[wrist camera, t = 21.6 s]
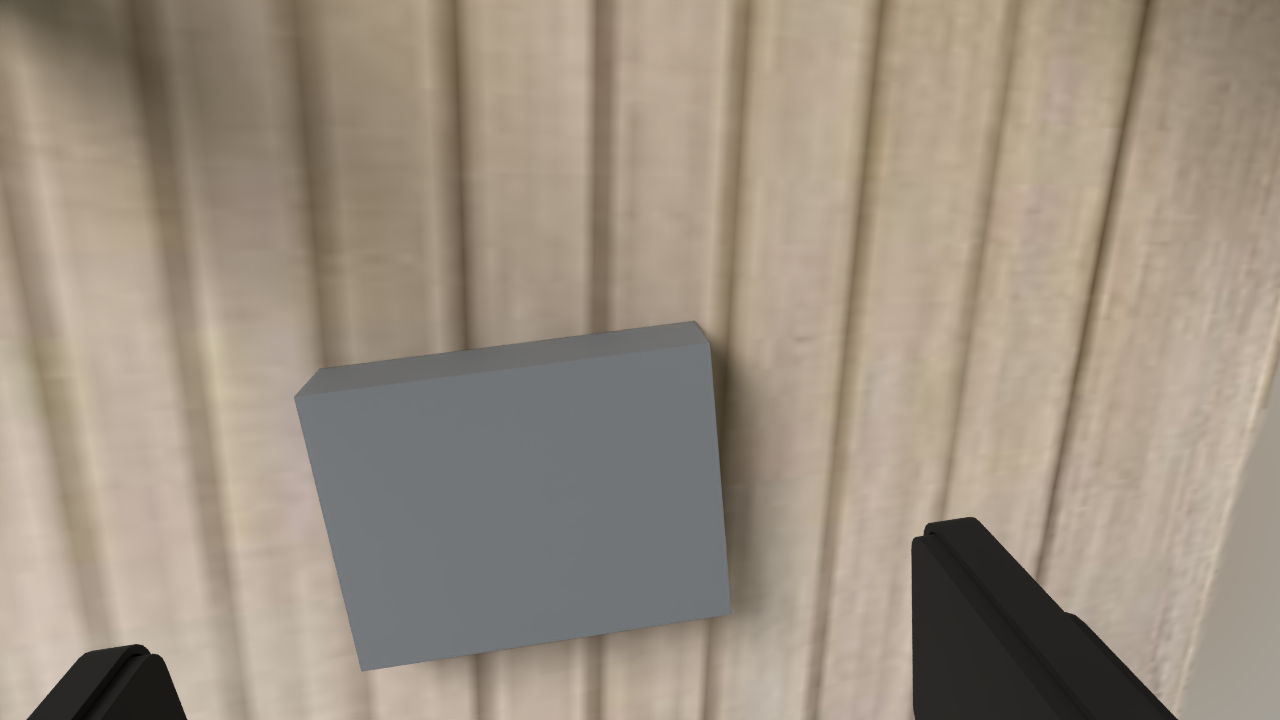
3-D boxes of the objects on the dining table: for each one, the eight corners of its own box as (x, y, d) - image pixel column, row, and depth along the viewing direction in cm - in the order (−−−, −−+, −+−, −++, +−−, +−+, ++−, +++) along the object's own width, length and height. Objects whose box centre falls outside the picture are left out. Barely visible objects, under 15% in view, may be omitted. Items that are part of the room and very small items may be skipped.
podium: (694, 321, 39) (710, 343, 36) (715, 570, 44) (731, 614, 40) (319, 368, 38) (294, 397, 34) (378, 621, 42) (361, 671, 39)
